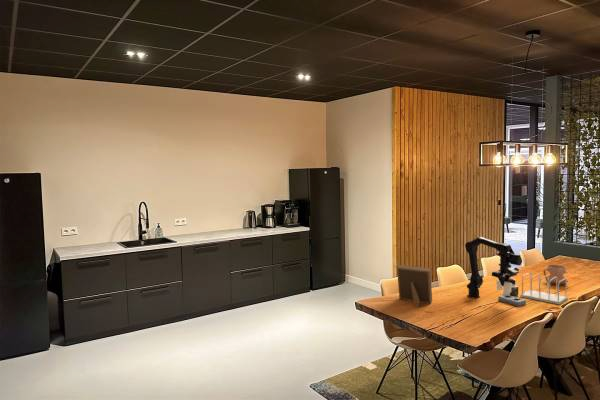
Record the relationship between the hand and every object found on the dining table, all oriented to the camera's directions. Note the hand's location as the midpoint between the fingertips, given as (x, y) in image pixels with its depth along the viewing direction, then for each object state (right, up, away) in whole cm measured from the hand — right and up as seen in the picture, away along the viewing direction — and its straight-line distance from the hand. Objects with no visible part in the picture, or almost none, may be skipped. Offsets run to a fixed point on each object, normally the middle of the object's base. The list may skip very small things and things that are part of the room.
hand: (504, 285), depth 297 cm
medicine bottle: (+14, -11, +22) cm, 28 cm away
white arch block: (0, -4, 0) cm, 4 cm away
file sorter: (+34, -12, +15) cm, 39 cm away
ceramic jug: (+63, -8, +50) cm, 81 cm away
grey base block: (+8, -13, +6) cm, 16 cm away
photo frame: (-59, -13, +7) cm, 61 cm away
